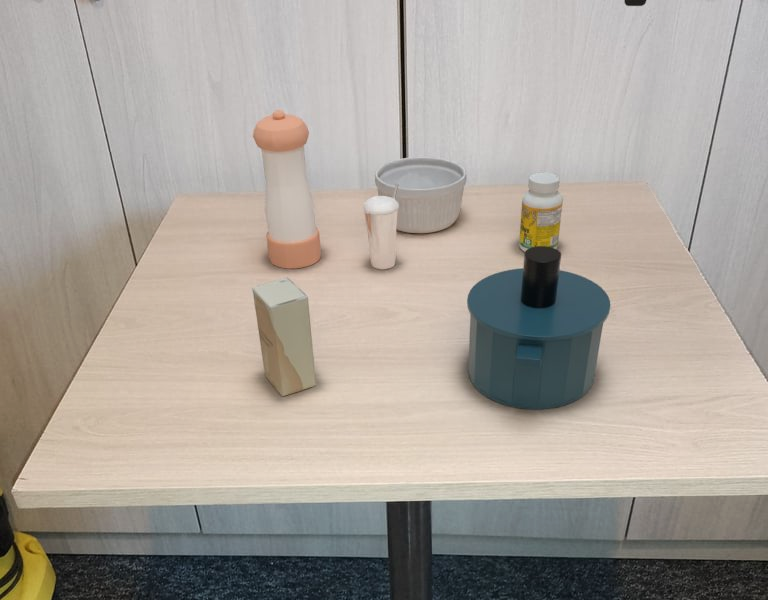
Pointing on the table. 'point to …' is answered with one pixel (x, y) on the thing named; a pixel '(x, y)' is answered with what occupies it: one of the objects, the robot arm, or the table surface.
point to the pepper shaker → (287, 191)
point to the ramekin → (423, 192)
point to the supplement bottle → (541, 212)
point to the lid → (538, 300)
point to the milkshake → (382, 229)
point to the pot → (532, 367)
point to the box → (285, 335)
